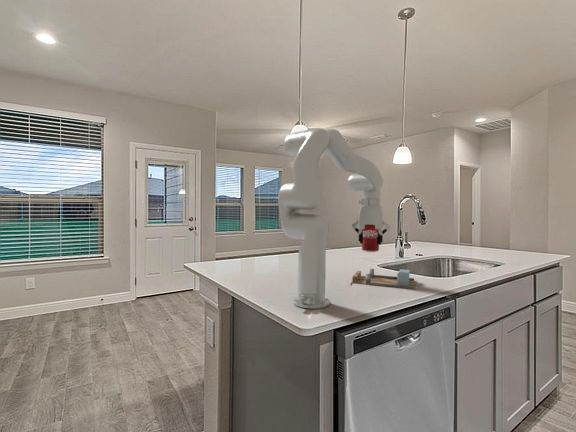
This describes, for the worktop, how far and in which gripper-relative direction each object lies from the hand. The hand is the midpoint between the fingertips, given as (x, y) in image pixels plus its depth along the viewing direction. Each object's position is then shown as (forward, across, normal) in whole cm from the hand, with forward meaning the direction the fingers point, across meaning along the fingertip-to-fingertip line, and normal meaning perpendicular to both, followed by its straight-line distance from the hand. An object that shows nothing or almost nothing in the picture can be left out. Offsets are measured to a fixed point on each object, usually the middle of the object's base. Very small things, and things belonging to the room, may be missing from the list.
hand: (370, 243), depth 139 cm
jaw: (+16, +14, 0) cm, 22 cm away
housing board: (+18, +6, 0) cm, 19 cm away
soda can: (+4, 0, 0) cm, 4 cm away
